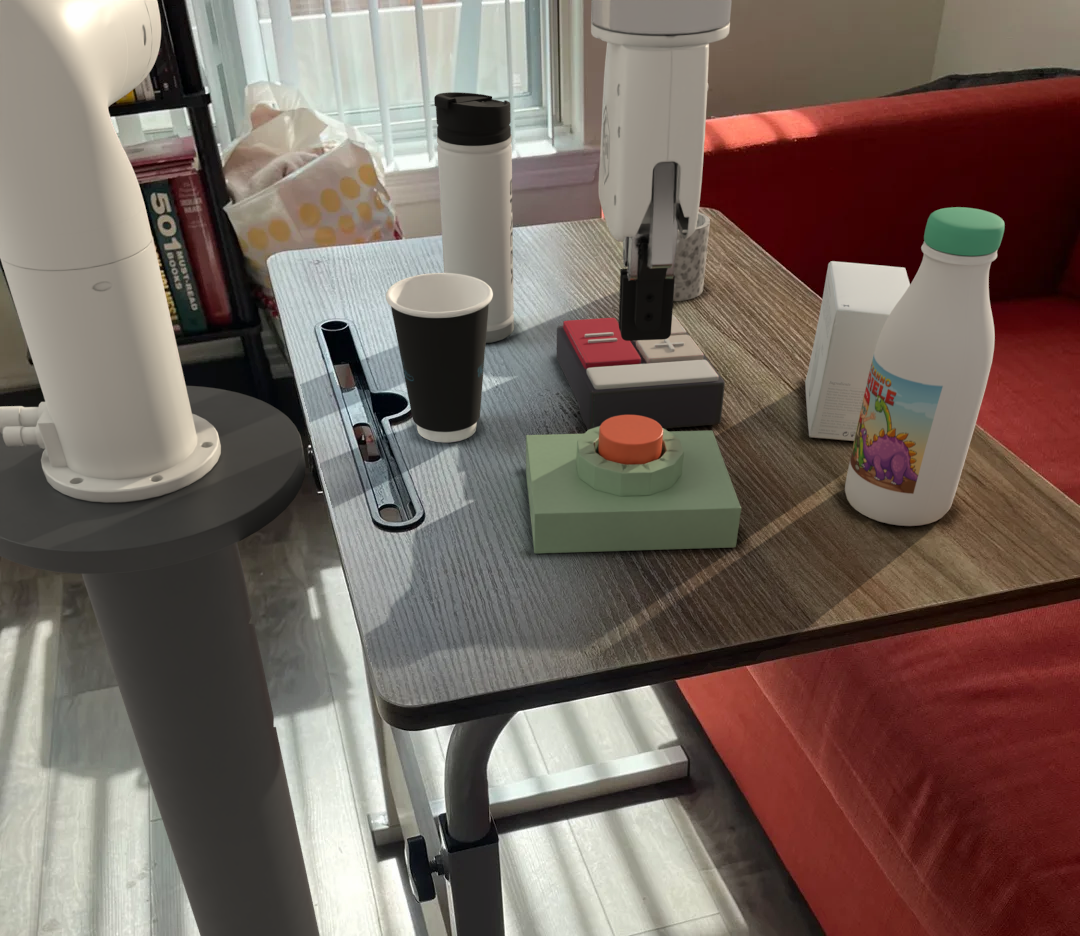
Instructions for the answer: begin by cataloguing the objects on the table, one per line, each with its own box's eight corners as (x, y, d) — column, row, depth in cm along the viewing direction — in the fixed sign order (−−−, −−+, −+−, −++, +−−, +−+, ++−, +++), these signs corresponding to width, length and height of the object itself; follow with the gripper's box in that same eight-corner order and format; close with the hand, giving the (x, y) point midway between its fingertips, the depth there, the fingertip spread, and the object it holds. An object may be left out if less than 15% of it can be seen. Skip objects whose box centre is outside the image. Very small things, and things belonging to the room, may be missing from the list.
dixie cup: (378, 426, 90) (364, 289, 82) (454, 396, 94) (448, 264, 86) (438, 462, 85) (429, 322, 78) (516, 430, 89) (514, 294, 82)
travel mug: (430, 330, 104) (415, 90, 90) (484, 311, 107) (477, 78, 94) (473, 351, 100) (464, 105, 87) (527, 331, 104) (526, 91, 90)
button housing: (534, 553, 76) (534, 489, 73) (525, 473, 84) (525, 412, 81) (735, 547, 77) (745, 484, 73) (708, 468, 85) (715, 407, 82)
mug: (641, 273, 115) (646, 205, 110) (706, 278, 114) (713, 210, 109) (627, 310, 107) (631, 240, 103) (696, 316, 106) (703, 245, 102)
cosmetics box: (890, 446, 88) (922, 315, 81) (808, 439, 88) (832, 309, 81) (880, 387, 95) (908, 263, 88) (804, 382, 96) (825, 258, 89)
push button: (601, 468, 76) (602, 445, 75) (595, 437, 79) (596, 414, 78) (665, 466, 76) (667, 443, 75) (656, 436, 79) (658, 413, 78)
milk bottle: (920, 470, 85) (992, 193, 72) (970, 523, 79) (1058, 233, 66) (826, 480, 84) (882, 200, 70) (870, 535, 78) (939, 242, 65)
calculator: (677, 308, 99) (727, 373, 87) (673, 356, 101) (722, 424, 90) (555, 316, 97) (590, 383, 86) (555, 364, 100) (589, 435, 88)
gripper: (579, -21, 65) (576, 293, 77) (606, 32, 54) (598, 388, 66) (706, -24, 65) (683, 289, 77) (759, 28, 54) (722, 383, 66)
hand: (644, 334), depth 72 cm, fingers closed
